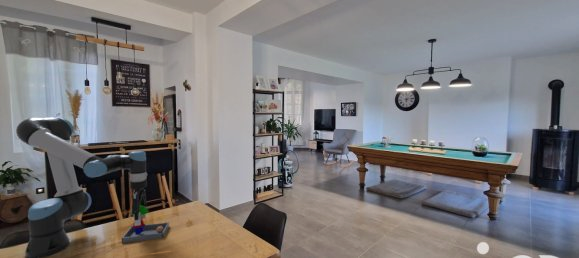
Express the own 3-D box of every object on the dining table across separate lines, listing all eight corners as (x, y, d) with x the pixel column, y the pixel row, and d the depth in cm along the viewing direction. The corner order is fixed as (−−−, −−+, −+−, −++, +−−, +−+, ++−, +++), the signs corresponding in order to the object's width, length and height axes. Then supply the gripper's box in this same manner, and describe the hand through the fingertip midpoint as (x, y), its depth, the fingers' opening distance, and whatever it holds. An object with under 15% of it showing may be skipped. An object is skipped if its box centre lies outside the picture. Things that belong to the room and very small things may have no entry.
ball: (155, 234, 131) (155, 228, 130) (157, 231, 134) (157, 225, 134) (162, 233, 131) (162, 227, 131) (164, 230, 135) (164, 224, 135)
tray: (121, 244, 122) (121, 238, 122) (131, 231, 135) (131, 226, 135) (163, 238, 127) (163, 233, 127) (168, 227, 140) (168, 222, 140)
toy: (143, 236, 126) (142, 208, 125) (128, 236, 126) (127, 208, 125) (152, 229, 134) (151, 203, 133) (138, 229, 134) (137, 202, 133)
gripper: (140, 185, 119) (141, 229, 121) (152, 174, 139) (153, 213, 141) (122, 186, 117) (124, 231, 119) (137, 175, 137) (138, 214, 139)
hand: (140, 221), depth 130 cm, fingers closed on toy, 8 cm apart
